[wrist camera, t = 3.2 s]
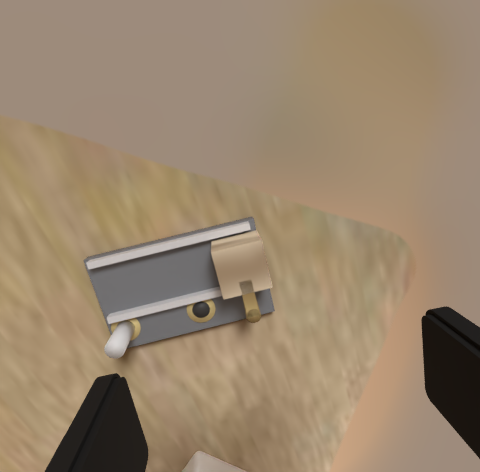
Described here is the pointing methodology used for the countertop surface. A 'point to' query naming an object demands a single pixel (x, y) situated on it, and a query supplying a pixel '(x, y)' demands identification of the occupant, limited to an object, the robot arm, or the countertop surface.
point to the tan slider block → (242, 269)
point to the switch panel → (166, 288)
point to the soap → (209, 464)
